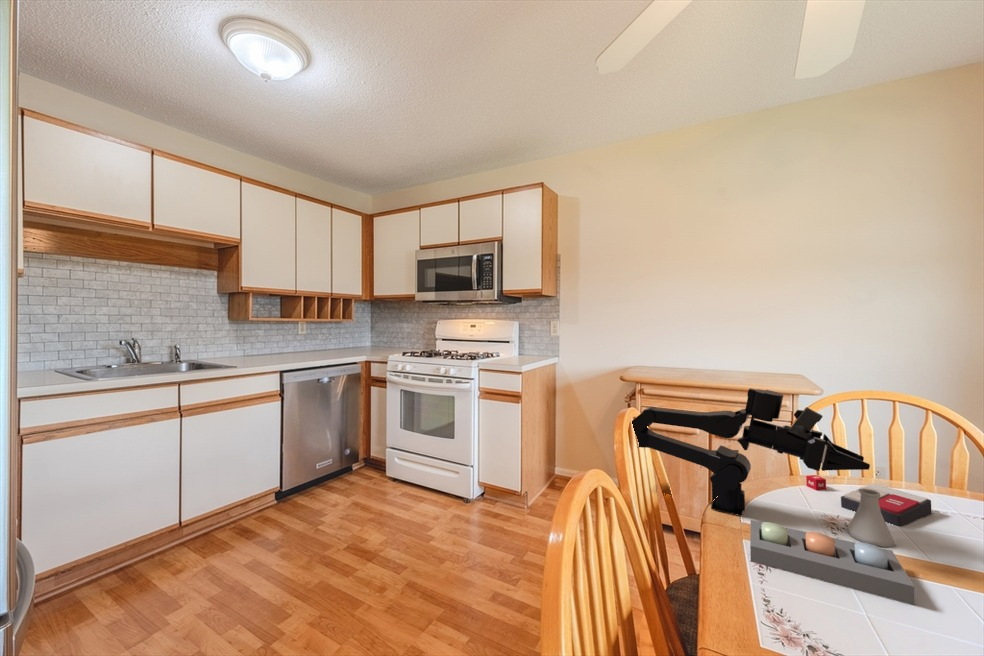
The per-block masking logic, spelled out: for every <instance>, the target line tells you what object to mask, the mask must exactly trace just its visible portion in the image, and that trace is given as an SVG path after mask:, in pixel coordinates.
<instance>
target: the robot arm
mask: <svg viewBox="0 0 984 656" xmlns="http://www.w3.org/2000/svg"><path fill="white" fill-rule="evenodd" d="M746 395H747V399H746V400H747V401H746V404H745V408H741V409H740V410H736V411H733V410H714V411H706V412H697V411H688V410H678V409H677V410H676V409H670V408H661V407H660V408H659V407H655V406H649V407H647V408H645V409H643V411H641V412H640V414H638V416H635V418H634V419H633V420H631V421H632V424H633V428H634V431H635V434H636V436H637V439H638V442H639V447H638V448H645V449H646V448H649V449H652V450H655V451H658V452H660V453H663V454H667V455H669V456H672V457H675V458H678V459H681V460H683V461H686V462H690V463H692V464H696V465H698V466H701V467H704V468H706V469H707V470H709V471H710V472H712V473H711V475H710V477H709V481H710V483H711V506H710V508H711V510H712V509H715V510H714V511H717V510H718V511H717V512H722V513H726V512H727V514H730V513H733V514H732V515H735V514H738V515H737V516H740V515H742V516H743V512H745V508H746V503H745V502H746V501H745V500H746V498H745V495H746V494H745V490H743V489H742V483H744V482H745V481H746V480H747V479H748V476H749V473H750V472H751V469H752V468H751V466H752V465H751V462H750V460H749V459H748V457H747V456H746V455H744V454H742V453H740V451H739V449H731V448H728V447H726V446H724V445H720V446H718V448H717V450H715V449H714V450H713V449H708V448H704V447H701V446H698V445H694V444H692V443H689V442H685V441H682V440H679V439H676V438H673V437H669V436H666V435H663V434H659V433H657V432H654V431H653V430H652V429H650V426H651V425H652V424H658V425H659V424H660V425H667V426H672V427H673V426H674V427H679V428H680V427H681V428H689V429H696V430H700V431H703V432H705V433H707V434H710V435H713V436H717V437H720V438H722V439H732V438H734V437H737V435H738V434H739V433H740V432H741V430H742V428H743V431H742V436H741V437H739V438H737V443H739V445H741V447H742V448H743V450H744V451H747V450H748V449H749V447H750V444H753V445H756V446H760V447H763V448H767V449H769V450H772V451H776V453H778V454H781V455H783V454H787V455H791V456H793V457H797V458H799V460H801V461H802V462H803V464H804V465H805V466H806V467H807V468H808V469H811V470H814V471H817V472H820V471H823V472H826V471H847V470H848V471H850V470H851V471H855V470H857V471H860V470H861V471H865V470H866V471H867V470H870V467H871V464H870V463H868V462H865V457H864V456H863V455H861V454H858V453H855V452H854V451H851V450H849V449H847V448H845V447H842V446H840V445H838V444H836V443H834V442H833V441H832V440H830V438H829V437H828V435H826V434H825V433H824V434H823V432H822V431H818V430H814V429H813V428H814V427H815V425H816V424H817V423H820V421H821V419H823V414H820V413H819V412H817V411H815V410H813V409H811V408H809V407H807V406H806V407H805V408H804V409H802V410H801V409H797V410H796V411H795V413H794V414H793V416H794V418H795V419H796V420H795V421H794V422H793V424H792V425H791V426H790V425H783V426H780V425H776V424H774V423H772V422H773V420H778V419H779V417H780V413H781V409H782V403H783V400H784V394H783V393H780V392H777V391H773V390H769V389H760V388H759V389H758V388H757V389H755V388H751V387H750V388H749V389H748V390H747V394H746ZM749 417H751V418H750V420H749V421H750V422H749V425H745V426H743V425H744V424H745V423H746V422H747V420H748V418H749ZM647 426H648V428H647ZM821 437H822V438H821ZM820 469H821V470H820ZM717 496H718V497H717ZM716 497H717V498H716ZM714 499H715V500H714ZM713 500H714V501H713ZM712 501H713V502H712Z"/></svg>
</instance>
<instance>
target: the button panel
mask: <svg viewBox="0 0 984 656" xmlns="http://www.w3.org/2000/svg"><path fill="white" fill-rule="evenodd" d="M762 523H764V522H762V521H758V520H753V519H750V534H749V535H750V538H749V539H750V540H749V542H750V549H749V550H750V562H751V563H752V562H753V563H755V564H759V565H764V566H767V567H770V568H773V569H774V568H775V569H779V570H782V571H786V572H789V573H793V574H798V575H800V576H805V577H809V578H812V579H816V580H819V581H823V582H827V583H830V584H834V585H838V586H842V587H845V588H849V589H852V590H856V591H861V592H864V593H867V594H872V595H874V596H875V595H876V596H879V597H882V598H886V599H890V600H894V601H898V602H901V603H904V604H909V605H913V606H916V601H915V600H916V598H915V597H916V596H915V593H916V591H915V589H916V587H915V585H914V584H913V582H912V580H911V578H910V577H909V575H908V574H907V572H906V571H905V568H903V567H904V566H902V564H901V562H900V561H899V559H898V558H897V555H895V552H894V551H893V550H892V549H891V550H890V549H887V548H883V549H884V550H885V551H886V552H887V563H888V570H884V569H880V568H876V567H872V566H868V565H863V564H859V563H855V543H856V542H854V541H850V540H845V539H840V538H836V537H832V536H830V537H831V538H833V539H834V541H835V558H834V557H830V556H826V555H822V554H818V553H813V552H809V551H806V533H807V532H808V531H804V530H800V529H794V528H789V527H785V526H784V527H785V528H786V529H787V530H788V546H784V545H780V544H776V543H772V542H767V541H763V540H762Z"/></svg>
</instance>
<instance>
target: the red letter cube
mask: <svg viewBox="0 0 984 656" xmlns="http://www.w3.org/2000/svg"><path fill="white" fill-rule="evenodd" d="M805 478H806V479H805V480H806V482H805V483H806V485H805V486H806V487H808V488H810V489H812V490H814V491H827V479H826V478H824V477H822V476H819V475H817V474H816V475H812V474H811V475H806V477H805Z"/></svg>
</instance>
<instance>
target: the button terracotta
mask: <svg viewBox="0 0 984 656" xmlns="http://www.w3.org/2000/svg"><path fill="white" fill-rule="evenodd" d="M806 532H807V533H806V551H809V552H813V553H818V554H822V555H826V556H830V557H834V558H835V541H834V539H833V538H834V537H832V536H829V535H827V534H824V533H821V532H817V531H806ZM831 537H832V538H831Z"/></svg>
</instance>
